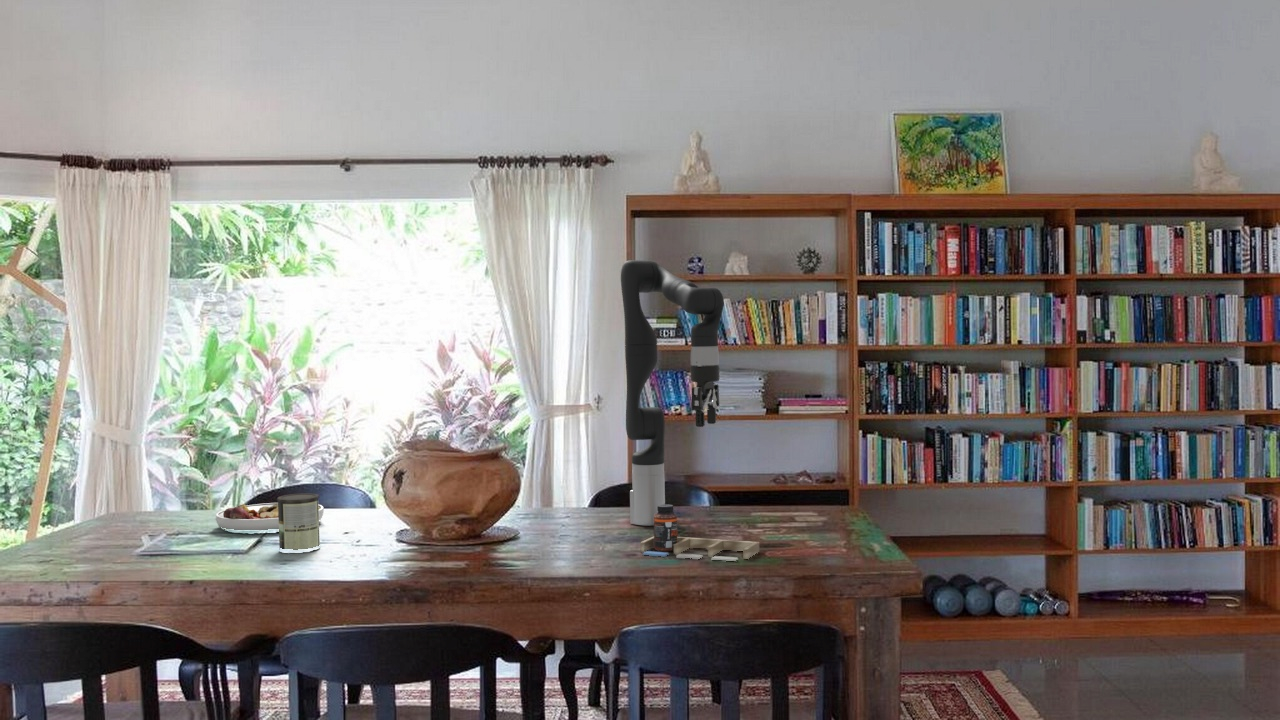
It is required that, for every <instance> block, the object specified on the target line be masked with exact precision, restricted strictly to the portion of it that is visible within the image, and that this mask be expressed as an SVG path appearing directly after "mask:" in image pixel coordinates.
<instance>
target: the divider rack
mask: <svg viewBox="0 0 1280 720" xmlns="http://www.w3.org/2000/svg"><path fill="white" fill-rule="evenodd" d="M677 537H678V543H676V544H674V551H673V555H674V554H675V555H674V556H676V555H678V554H682V553H684V552H686V551H688V550H689V548H690V549H693V548H706V549H705V550H707V557H708V556H713V555H715V554H717V553H719V552H720V551H722V550H736V551H735V552H737V551H743V552H742V554H743V556H742V560H743V559H748V560H750V559H751V558H753V557H754V556H756V555H757V554H759V553H760V542H759V541H750V540H749V541H748V540H732V539H714V538H704V537H703V538H702V537H701V538H700V537H688V536H687V537H685V536H677ZM639 543H640V544H639V546H640V547H639V548H640V552H639V553H643V552H645V551H647V550H648V551H650V550H652V549H654V535H653V536H651V537H649V538H647V539H645V540H642V541H641V542H639ZM649 549H650V550H649ZM687 549H688V550H687ZM685 550H686V551H685ZM683 551H684V552H683ZM681 552H682V553H681ZM722 552H723V551H722ZM758 552H759V553H758ZM720 553H721V552H720ZM720 553H719V554H720ZM756 553H757V554H756ZM755 554H756V555H755ZM717 555H718V554H717ZM753 555H754V556H753ZM715 556H716V555H715ZM752 556H753V557H752ZM750 557H751V558H750ZM749 558H750V559H749Z"/></svg>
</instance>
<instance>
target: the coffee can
mask: <svg viewBox="0 0 1280 720" xmlns="http://www.w3.org/2000/svg"><path fill="white" fill-rule="evenodd" d="M319 496H320V495H319V494H318V493H307V492H306V493H302V492H301V493H292V494H285V495H281V496H278V497H277V503H278V517H279V533H278V537H279V538H278V539H279V549H280V548H282V549H293V550H298V549H308V548H313V547H316V546H319V545H320V546H321V543H320V541H321V540H320V521H319V507H318V504H319V498H320V497H319Z"/></svg>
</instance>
